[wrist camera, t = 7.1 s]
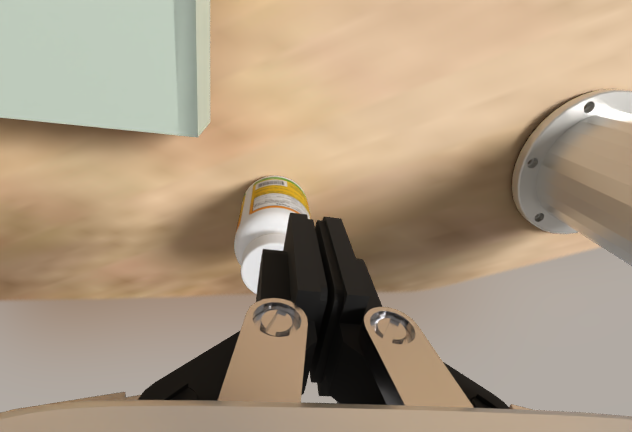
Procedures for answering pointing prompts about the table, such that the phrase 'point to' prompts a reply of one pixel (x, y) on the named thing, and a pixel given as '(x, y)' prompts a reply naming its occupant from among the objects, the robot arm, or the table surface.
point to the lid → (107, 63)
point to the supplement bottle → (265, 222)
